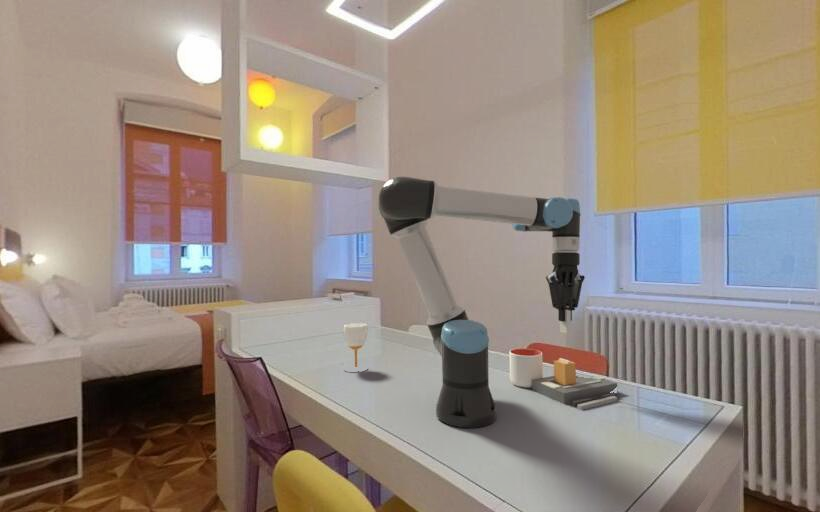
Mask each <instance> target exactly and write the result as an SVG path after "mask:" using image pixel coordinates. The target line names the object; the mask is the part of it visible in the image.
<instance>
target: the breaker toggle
mask: <svg viewBox="0 0 820 512" xmlns="http://www.w3.org/2000/svg"><path fill="white" fill-rule="evenodd" d="M576 367H577V366H576V362H574V361H571V360H568V359H564V358H562V357H559V358H558V360H553V376H554V381H555V382H558V383H560V384H563V385H570V384H576V372H577V371H576V369H577V368H576Z"/></svg>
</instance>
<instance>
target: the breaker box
mask: <svg viewBox="0 0 820 512" xmlns="http://www.w3.org/2000/svg"><path fill="white" fill-rule="evenodd" d="M582 372H584V371H582ZM592 374H593V373H592ZM593 375H595V374H593ZM578 376H579V375H576V384H570V385H563V384H560V383H558V382H555V381H554V375H552V376H546V377H543V378H539V379H533V380H532V388H531V390H533V391H535V392H537V393H538V394H540V395H543V396H545V397H546V398H547V397H548V398H549V399H552V400H553V401H556V402H558V403H560V404H562V405H567V404H571V401H573V400H578V399H583V398H588V397H593V396H598V395H603V394H608V393H610V392H611V391H613V390H614V389H615V388H616V387H617V388H618V383H617V382H615V381H612V380H609V379H606V377H603V376H600V375H597V376H598V377H597V376H596V377H592V378H584V377H578ZM593 378H594V379H593ZM605 379H606V380H605Z"/></svg>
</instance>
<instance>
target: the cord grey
mask: <svg viewBox="0 0 820 512" xmlns="http://www.w3.org/2000/svg"><path fill="white" fill-rule="evenodd" d="M615 402H618V398H617V397H615V396H611V397H606V398H602V399H598V400H594V401H590V402H586V403H582V404H578V405H577V407H576V408H577V409H578V410H579V411H583V410H586V409H591V408H594V407H598V406H602V405H607V404H611V403H615Z"/></svg>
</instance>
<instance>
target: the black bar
mask: <svg viewBox="0 0 820 512" xmlns="http://www.w3.org/2000/svg"><path fill="white" fill-rule="evenodd" d="M611 396H615V397H617V399H619V393H618V392H617V393H614V392H613V393H608V394H603V395H598V396H593V397H588V398H583V399H578V400H573V401H571V403H570V406H571V407H573V408H577V405H578V404H582V403H586V402H590V401H594V400H598V399H602V398H606V397H611Z"/></svg>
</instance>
